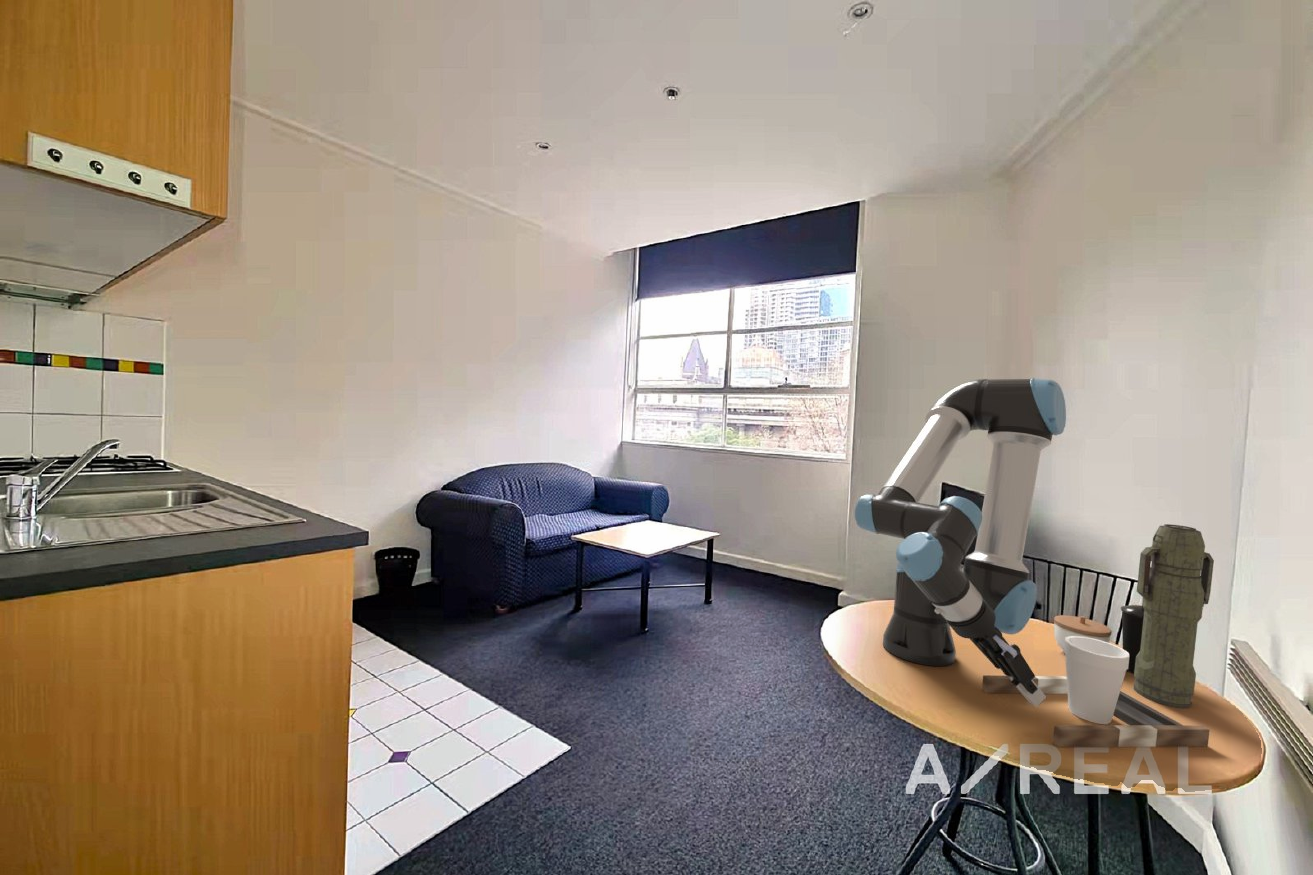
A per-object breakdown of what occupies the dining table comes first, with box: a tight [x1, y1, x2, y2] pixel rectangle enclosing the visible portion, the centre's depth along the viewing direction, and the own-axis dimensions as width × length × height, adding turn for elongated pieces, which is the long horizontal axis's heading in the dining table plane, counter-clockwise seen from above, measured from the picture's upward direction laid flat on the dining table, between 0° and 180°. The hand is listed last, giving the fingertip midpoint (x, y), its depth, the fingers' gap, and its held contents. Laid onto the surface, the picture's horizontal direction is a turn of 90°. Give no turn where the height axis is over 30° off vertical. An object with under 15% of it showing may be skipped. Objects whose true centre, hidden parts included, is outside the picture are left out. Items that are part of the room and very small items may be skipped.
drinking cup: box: [1120, 598, 1144, 675], centre depth 121 cm, size 8×8×20 cm
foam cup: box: [1063, 636, 1129, 725], centre depth 101 cm, size 10×9×13 cm
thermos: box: [1133, 523, 1215, 709], centre depth 110 cm, size 9×12×35 cm
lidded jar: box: [1053, 614, 1113, 653], centre depth 129 cm, size 11×11×9 cm
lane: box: [981, 674, 1210, 748], centre depth 101 cm, size 28×18×3 cm, turn 96°
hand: (1037, 699), depth 99 cm, fingers closed
